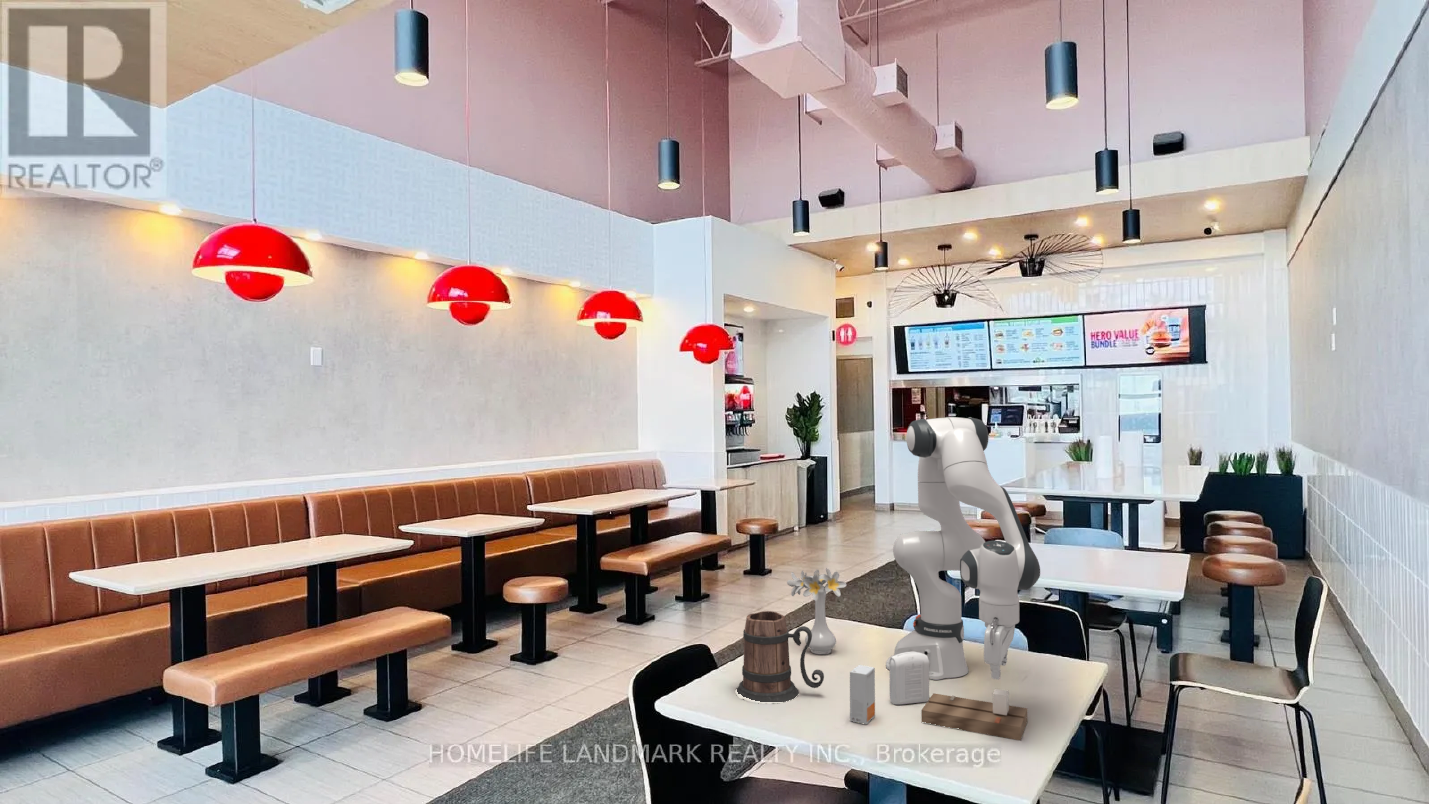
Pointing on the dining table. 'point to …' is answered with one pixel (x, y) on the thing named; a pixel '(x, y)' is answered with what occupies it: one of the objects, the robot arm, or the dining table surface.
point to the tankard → (771, 659)
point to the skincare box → (862, 694)
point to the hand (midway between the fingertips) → (999, 671)
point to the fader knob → (1000, 701)
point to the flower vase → (818, 606)
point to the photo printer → (909, 678)
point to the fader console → (974, 716)
